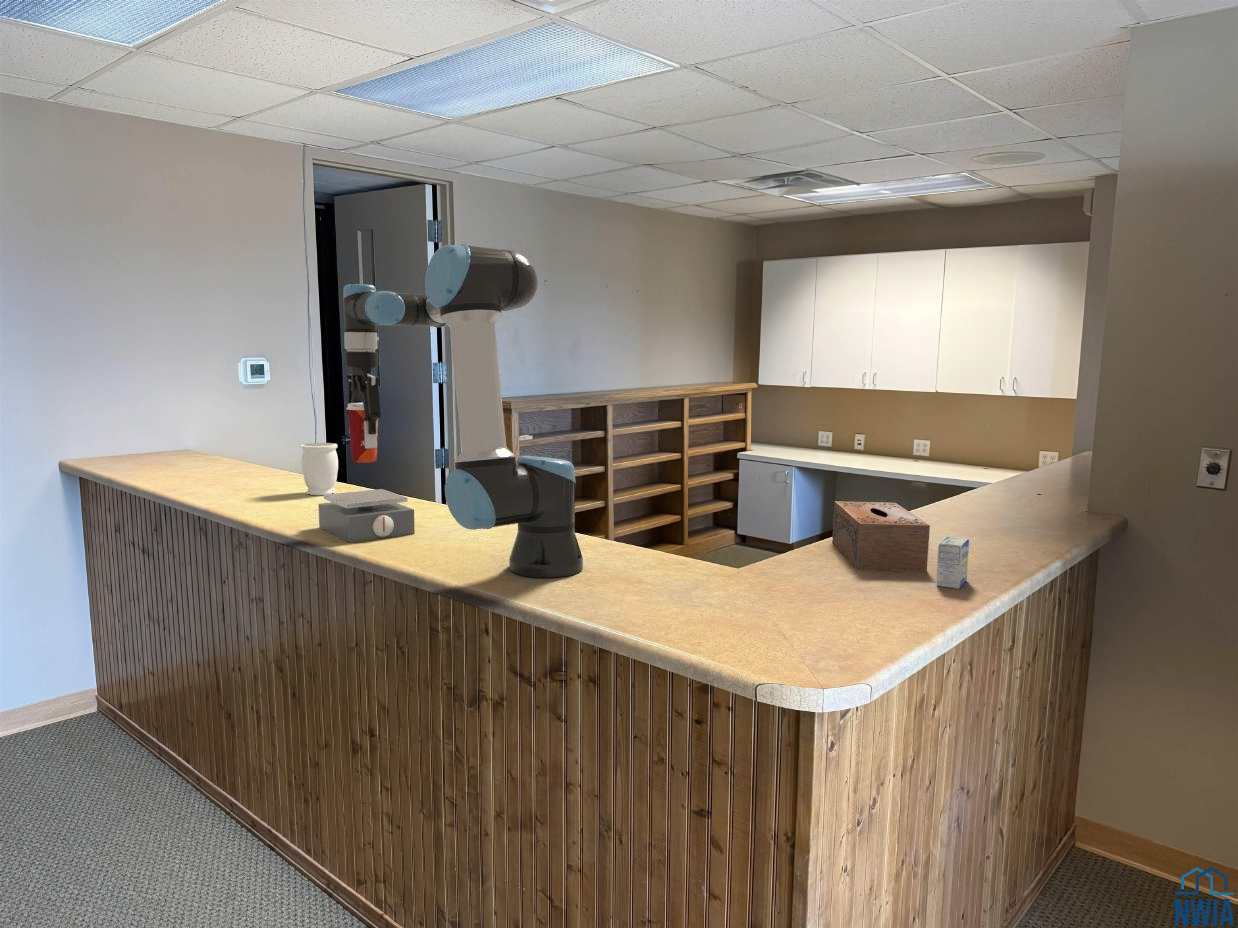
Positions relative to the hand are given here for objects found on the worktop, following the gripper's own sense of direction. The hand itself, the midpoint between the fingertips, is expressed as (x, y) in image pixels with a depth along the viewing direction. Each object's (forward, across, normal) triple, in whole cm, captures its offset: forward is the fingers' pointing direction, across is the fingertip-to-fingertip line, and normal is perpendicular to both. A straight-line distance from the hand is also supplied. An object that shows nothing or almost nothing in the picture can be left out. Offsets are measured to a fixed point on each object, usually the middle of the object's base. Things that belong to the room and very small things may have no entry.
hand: (364, 445), depth 203 cm
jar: (+21, +57, -9) cm, 61 cm away
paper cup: (+4, 0, 0) cm, 4 cm away
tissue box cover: (+21, -88, -83) cm, 123 cm away
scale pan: (+15, 0, 0) cm, 15 cm away
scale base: (+21, 0, 0) cm, 21 cm away
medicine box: (+21, -111, -75) cm, 136 cm away
